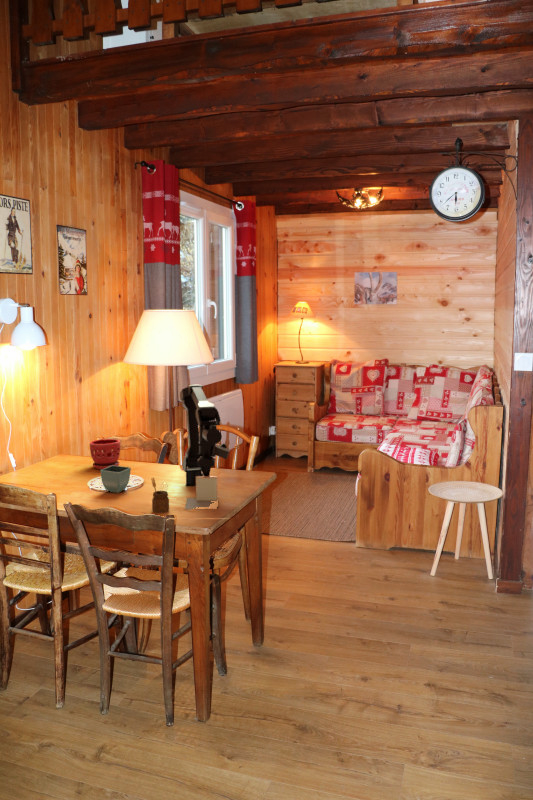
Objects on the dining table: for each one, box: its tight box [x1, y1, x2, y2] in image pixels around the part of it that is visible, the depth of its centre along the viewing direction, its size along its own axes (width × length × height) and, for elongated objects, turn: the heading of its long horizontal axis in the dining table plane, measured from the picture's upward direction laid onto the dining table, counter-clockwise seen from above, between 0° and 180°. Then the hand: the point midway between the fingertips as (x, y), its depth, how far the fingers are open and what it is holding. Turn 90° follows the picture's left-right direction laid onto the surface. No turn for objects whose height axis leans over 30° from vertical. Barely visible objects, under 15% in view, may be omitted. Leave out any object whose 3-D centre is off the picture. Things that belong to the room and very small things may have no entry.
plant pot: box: [89, 438, 121, 470], centre depth 297 cm, size 13×13×12 cm
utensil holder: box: [151, 477, 170, 514], centre depth 236 cm, size 6×6×12 cm
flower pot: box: [99, 465, 132, 494], centre depth 261 cm, size 9×9×9 cm
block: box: [195, 475, 218, 501], centre depth 249 cm, size 8×2×9 cm, turn 93°
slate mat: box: [184, 497, 214, 511], centre depth 246 cm, size 12×14×1 cm
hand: (207, 479), depth 251 cm, fingers closed
